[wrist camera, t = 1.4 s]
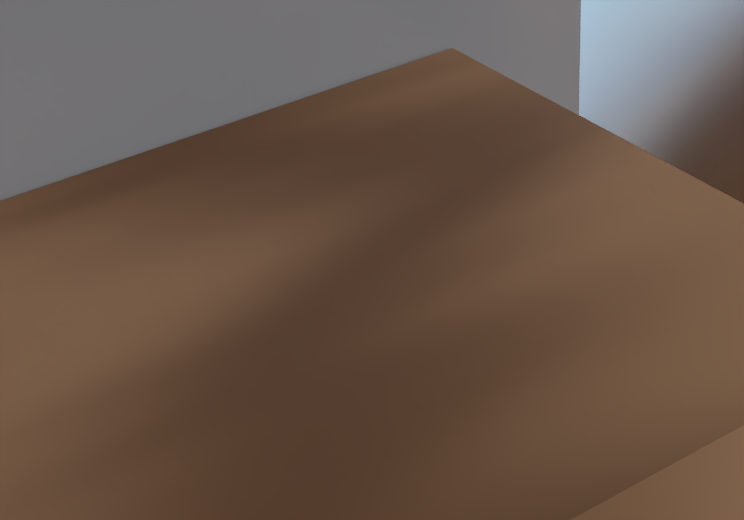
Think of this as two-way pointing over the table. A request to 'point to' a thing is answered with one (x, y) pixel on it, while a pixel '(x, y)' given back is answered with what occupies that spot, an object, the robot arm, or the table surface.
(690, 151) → the table surface
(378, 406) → the walnut block
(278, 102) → the tile
